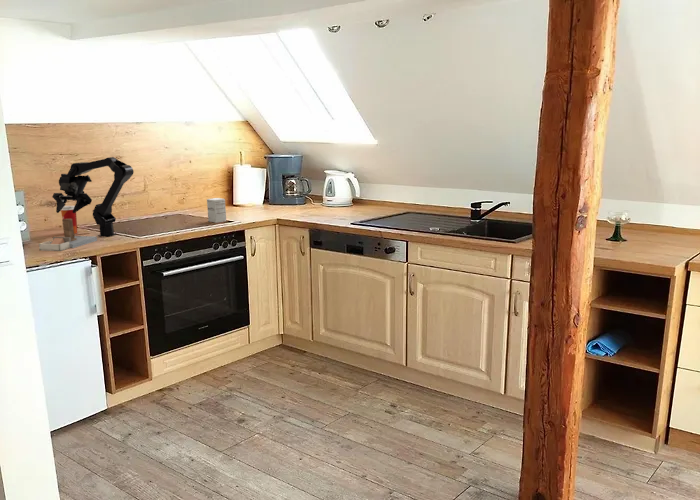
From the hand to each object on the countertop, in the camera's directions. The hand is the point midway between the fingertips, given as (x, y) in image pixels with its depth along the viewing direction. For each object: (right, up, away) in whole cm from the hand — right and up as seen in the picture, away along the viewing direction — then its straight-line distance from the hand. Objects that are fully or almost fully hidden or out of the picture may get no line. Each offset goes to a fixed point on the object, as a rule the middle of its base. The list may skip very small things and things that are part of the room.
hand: (65, 212), depth 297 cm
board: (+6, -15, -6) cm, 17 cm away
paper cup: (-6, -10, +20) cm, 23 cm away
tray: (+3, -18, -17) cm, 25 cm away
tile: (+4, -15, -15) cm, 22 cm away
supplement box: (+63, -2, +46) cm, 78 cm away
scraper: (+5, -14, -10) cm, 18 cm away
